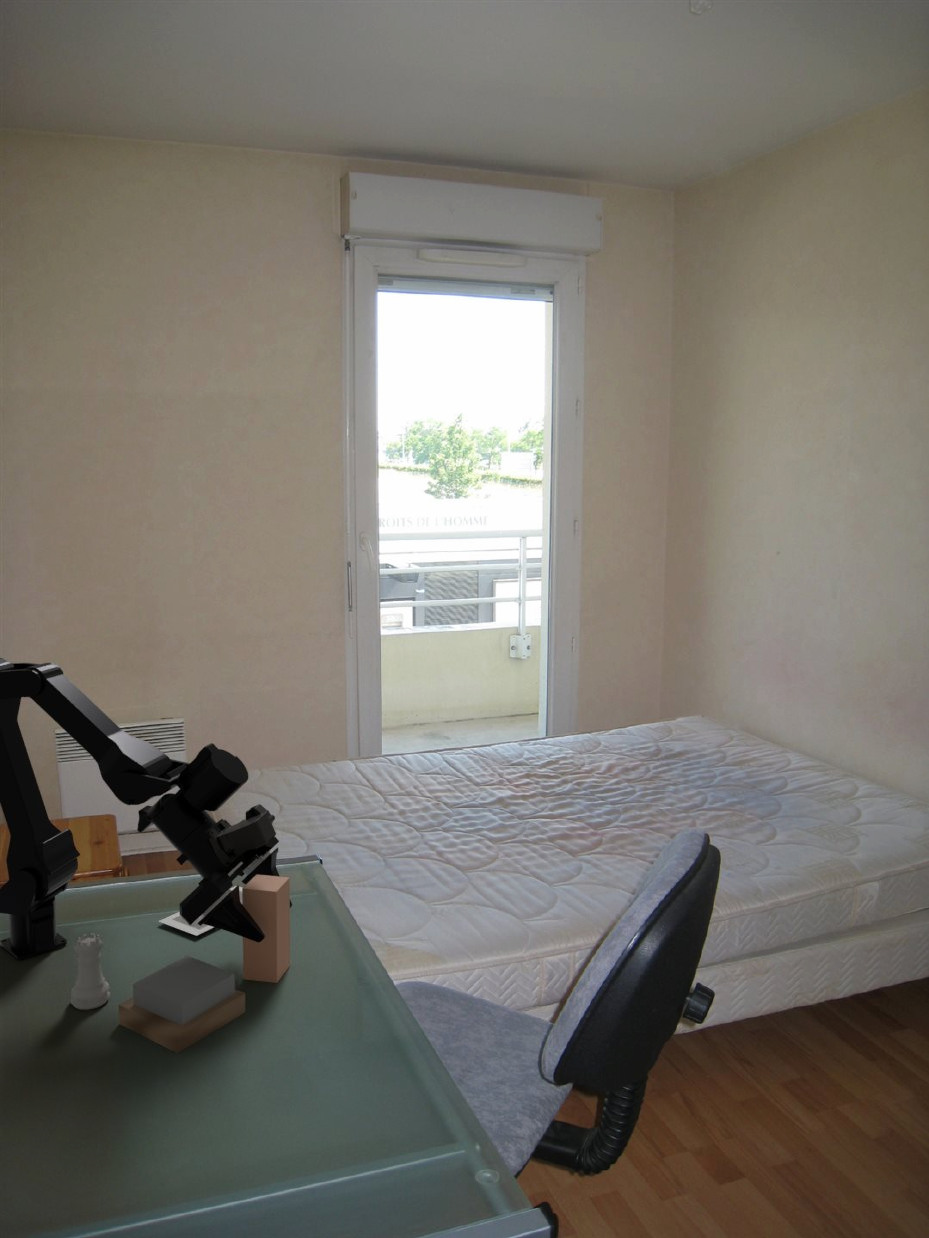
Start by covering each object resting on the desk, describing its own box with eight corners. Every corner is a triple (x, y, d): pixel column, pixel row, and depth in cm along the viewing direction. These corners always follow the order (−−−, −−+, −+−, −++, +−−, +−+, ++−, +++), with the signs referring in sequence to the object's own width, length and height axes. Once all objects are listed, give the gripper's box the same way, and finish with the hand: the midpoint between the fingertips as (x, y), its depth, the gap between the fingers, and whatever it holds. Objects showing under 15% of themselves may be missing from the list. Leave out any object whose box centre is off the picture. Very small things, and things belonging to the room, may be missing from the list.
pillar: (243, 978, 117) (242, 888, 116) (257, 961, 122) (256, 874, 120) (277, 982, 117) (276, 891, 115) (290, 965, 121) (289, 877, 120)
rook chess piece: (96, 1013, 109) (94, 949, 108) (62, 1008, 110) (59, 944, 109) (117, 994, 113) (116, 931, 112) (84, 989, 114) (82, 927, 113)
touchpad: (158, 928, 132) (158, 913, 132) (236, 892, 144) (236, 878, 144) (196, 943, 128) (196, 928, 127) (273, 904, 140) (273, 890, 140)
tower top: (133, 1004, 107) (132, 983, 106) (187, 974, 113) (186, 955, 113) (182, 1025, 103) (181, 1004, 102) (234, 993, 109) (234, 973, 109)
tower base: (119, 1028, 107) (118, 1004, 107) (188, 991, 115) (187, 968, 115) (177, 1058, 102) (176, 1032, 101) (245, 1016, 110) (245, 993, 110)
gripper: (201, 817, 108) (292, 916, 107) (264, 772, 126) (342, 856, 126) (140, 876, 110) (229, 973, 110) (211, 823, 128) (287, 907, 128)
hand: (276, 923), depth 118 cm, fingers open, 9 cm apart
